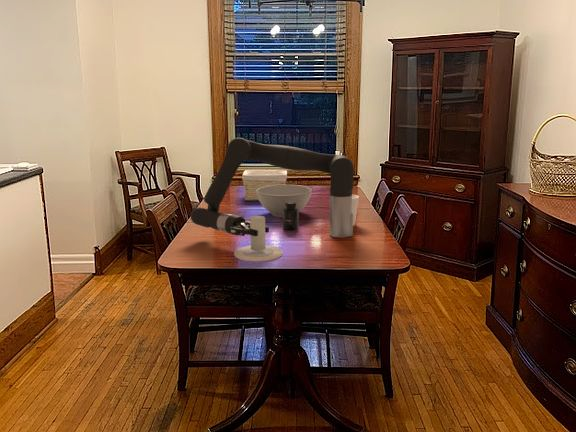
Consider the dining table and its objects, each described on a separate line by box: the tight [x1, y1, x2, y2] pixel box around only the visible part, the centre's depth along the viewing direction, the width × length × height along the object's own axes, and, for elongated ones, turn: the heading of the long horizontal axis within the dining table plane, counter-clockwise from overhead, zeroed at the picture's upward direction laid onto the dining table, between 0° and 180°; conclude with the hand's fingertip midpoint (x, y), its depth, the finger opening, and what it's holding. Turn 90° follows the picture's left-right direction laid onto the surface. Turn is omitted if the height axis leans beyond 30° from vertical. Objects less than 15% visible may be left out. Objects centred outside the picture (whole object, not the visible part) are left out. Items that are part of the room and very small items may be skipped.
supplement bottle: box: [282, 201, 299, 232], centre depth 241 cm, size 7×7×12 cm
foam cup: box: [352, 194, 360, 227], centre depth 246 cm, size 10×9×13 cm
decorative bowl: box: [256, 184, 313, 218], centre depth 267 cm, size 27×27×12 cm
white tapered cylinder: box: [249, 215, 267, 251], centre depth 206 cm, size 6×6×12 cm
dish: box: [233, 244, 283, 263], centre depth 208 cm, size 18×18×1 cm
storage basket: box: [241, 169, 288, 201], centre depth 302 cm, size 24×16×15 cm
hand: (262, 231), depth 204 cm, fingers closed on white tapered cylinder, 5 cm apart
